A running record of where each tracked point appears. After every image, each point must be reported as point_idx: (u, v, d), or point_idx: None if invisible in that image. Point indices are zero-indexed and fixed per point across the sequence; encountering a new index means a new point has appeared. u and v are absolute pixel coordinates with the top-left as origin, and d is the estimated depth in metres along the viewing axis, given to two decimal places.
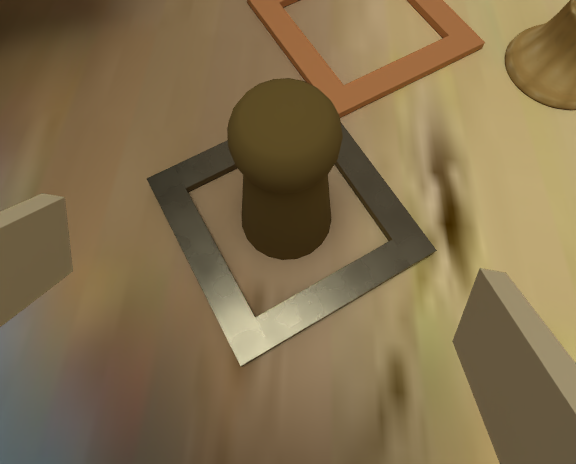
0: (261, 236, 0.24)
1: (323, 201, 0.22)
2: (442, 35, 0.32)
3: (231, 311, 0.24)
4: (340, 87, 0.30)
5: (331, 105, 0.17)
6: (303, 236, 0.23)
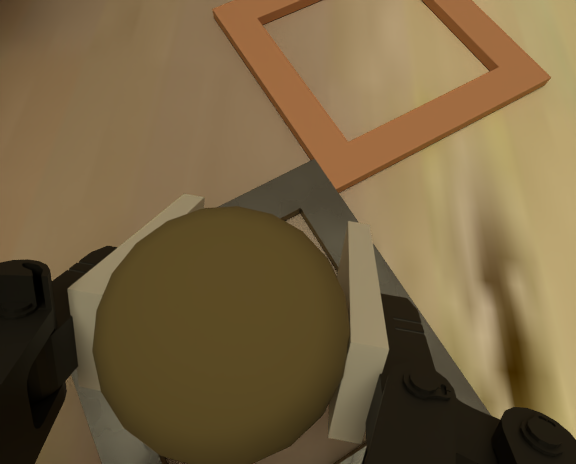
0: None
1: None
2: (488, 65, 0.23)
3: None
4: (343, 145, 0.20)
5: (325, 280, 0.07)
6: None
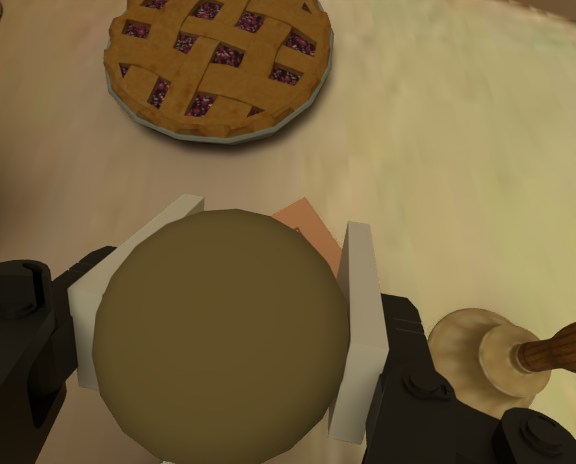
0: None
1: None
2: None
3: None
4: None
5: (325, 283, 0.07)
6: None
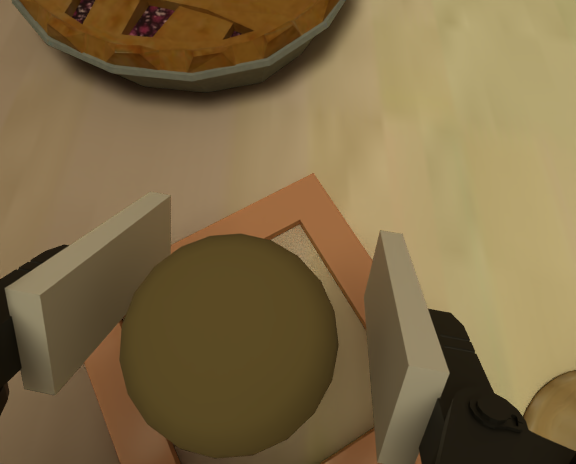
0: None
1: None
2: None
3: None
4: None
5: (316, 299, 0.09)
6: None
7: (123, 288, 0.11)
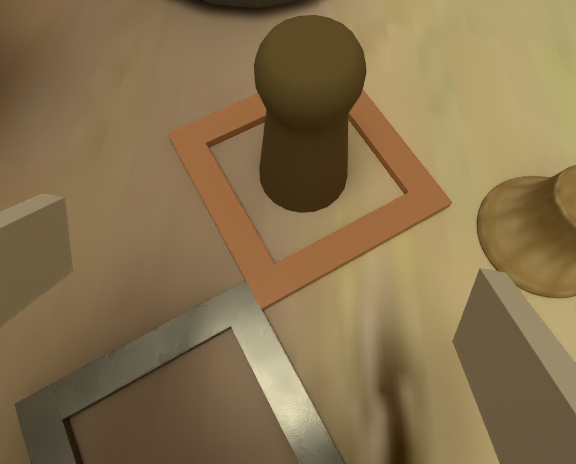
0: (280, 185, 0.24)
1: (343, 147, 0.22)
2: (401, 188, 0.26)
3: None
4: (270, 267, 0.24)
5: (356, 39, 0.18)
6: (322, 185, 0.24)
7: None
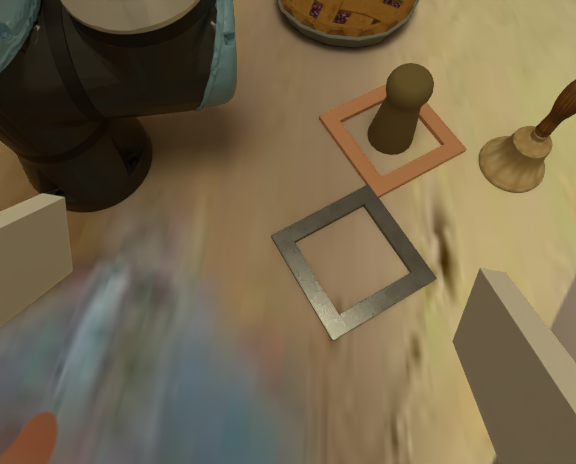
0: (384, 139, 0.50)
1: (417, 120, 0.48)
2: (440, 142, 0.53)
3: (325, 311, 0.44)
4: (379, 178, 0.50)
5: None
6: (405, 139, 0.50)
7: None
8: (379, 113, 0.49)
